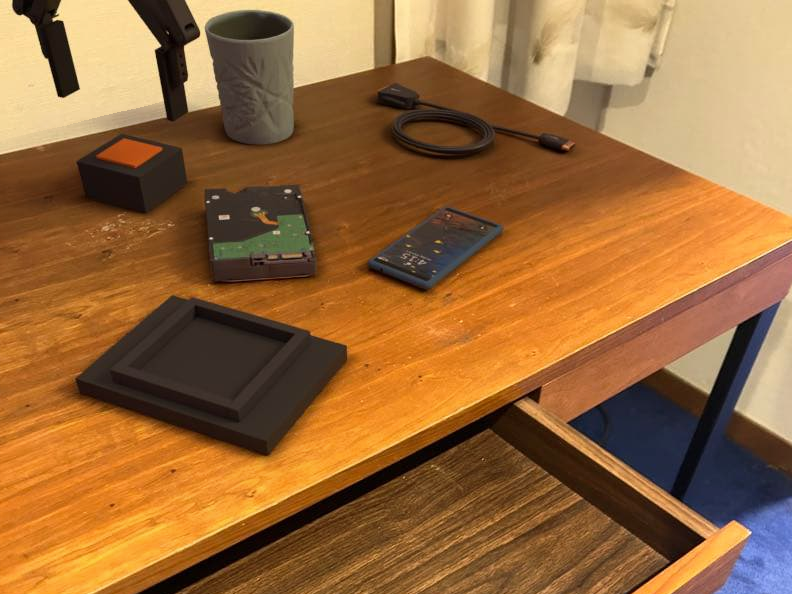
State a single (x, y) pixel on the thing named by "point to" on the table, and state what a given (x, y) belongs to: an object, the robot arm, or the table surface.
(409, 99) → the cable
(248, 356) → the base pad
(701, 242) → the table surface
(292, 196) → the disk drive
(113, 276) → the table surface
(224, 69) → the grey embossed cup
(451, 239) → the smartphone
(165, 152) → the black and orange block
